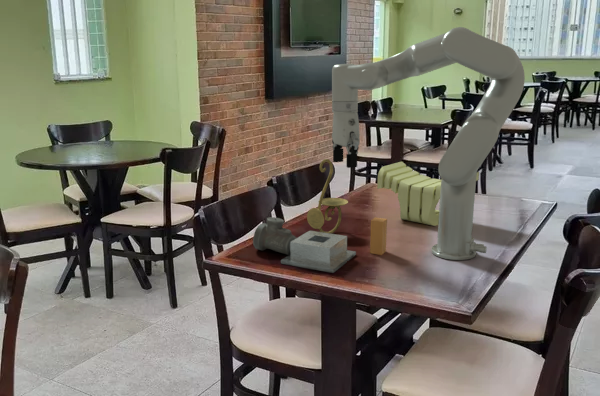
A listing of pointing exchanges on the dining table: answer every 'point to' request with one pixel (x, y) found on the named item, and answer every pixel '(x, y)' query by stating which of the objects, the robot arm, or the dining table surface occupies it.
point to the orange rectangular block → (378, 236)
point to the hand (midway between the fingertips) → (344, 164)
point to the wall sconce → (315, 214)
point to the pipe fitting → (273, 236)
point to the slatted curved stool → (413, 192)
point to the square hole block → (319, 251)
